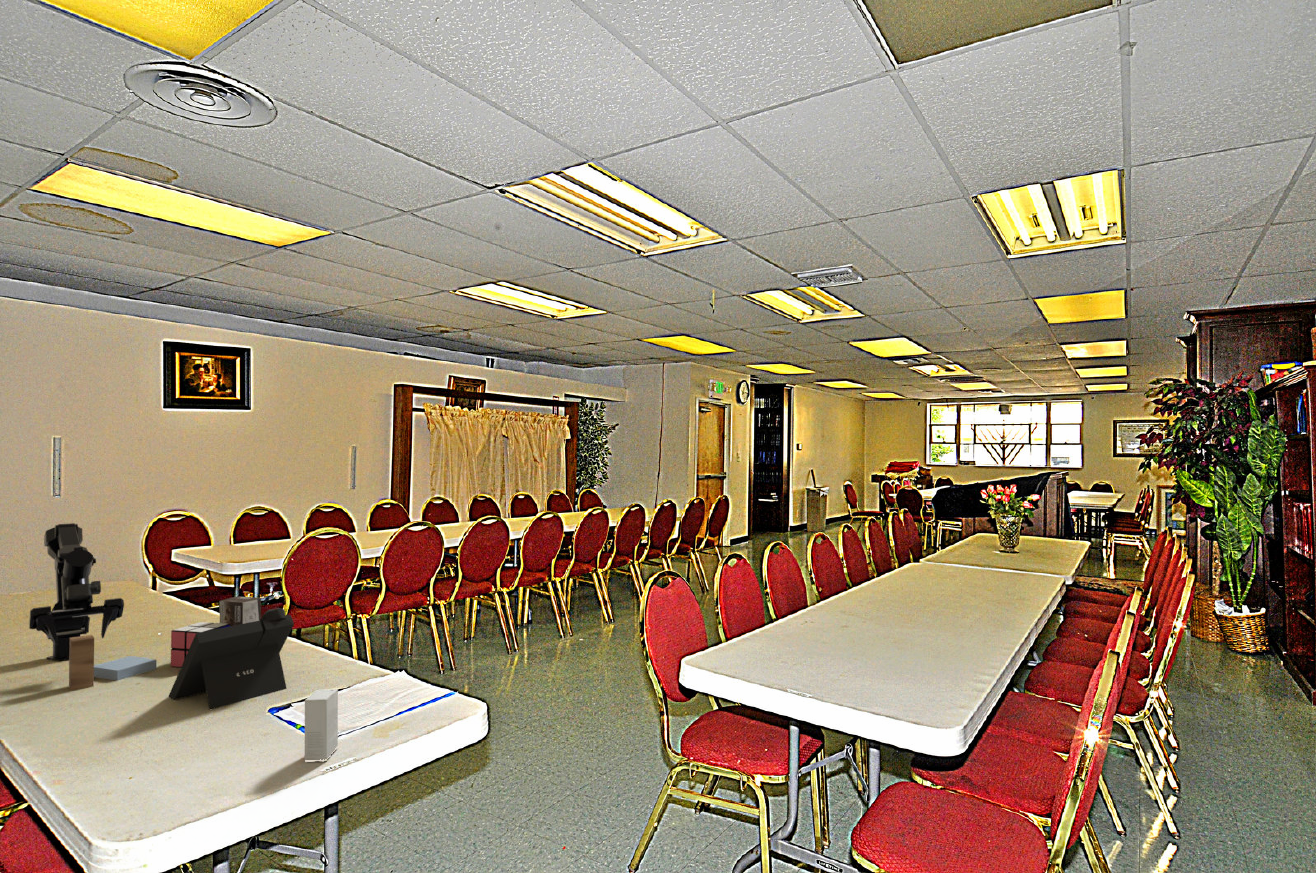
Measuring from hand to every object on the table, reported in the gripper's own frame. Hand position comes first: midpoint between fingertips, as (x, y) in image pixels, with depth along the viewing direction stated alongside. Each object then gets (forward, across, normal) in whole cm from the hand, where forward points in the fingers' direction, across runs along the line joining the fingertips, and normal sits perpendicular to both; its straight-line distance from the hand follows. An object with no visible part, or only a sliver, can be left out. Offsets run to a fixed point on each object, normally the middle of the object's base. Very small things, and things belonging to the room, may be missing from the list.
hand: (80, 640), depth 179 cm
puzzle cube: (+9, +26, +7) cm, 28 cm away
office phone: (+28, +29, -12) cm, 42 cm away
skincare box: (+69, +29, -53) cm, 92 cm away
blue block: (+6, +9, +9) cm, 15 cm away
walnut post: (+10, 0, +5) cm, 11 cm away
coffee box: (+8, +36, +7) cm, 37 cm away
